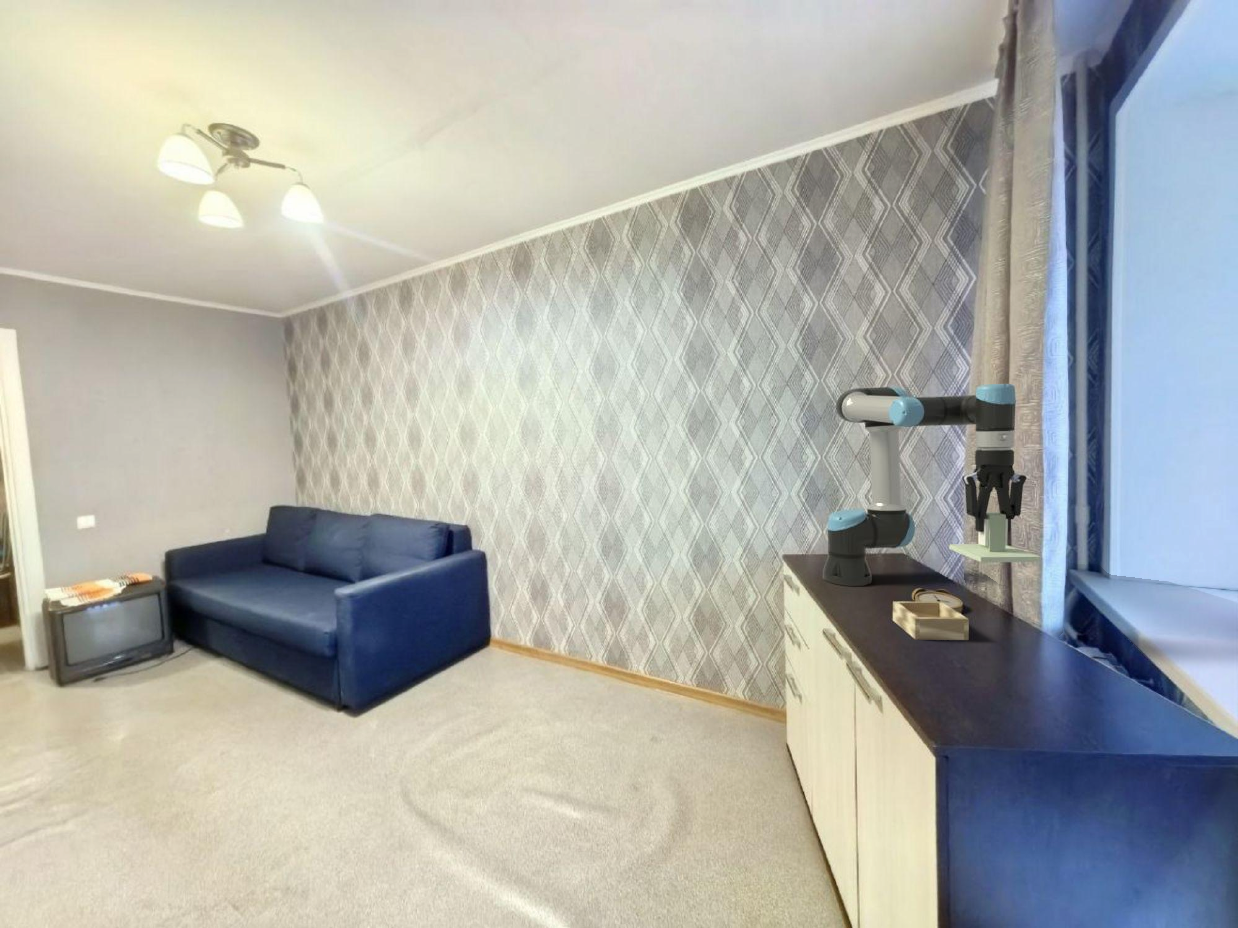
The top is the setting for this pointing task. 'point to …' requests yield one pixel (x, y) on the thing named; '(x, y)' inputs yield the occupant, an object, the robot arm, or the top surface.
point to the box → (931, 621)
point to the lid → (995, 545)
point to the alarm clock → (937, 598)
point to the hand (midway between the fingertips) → (992, 544)
